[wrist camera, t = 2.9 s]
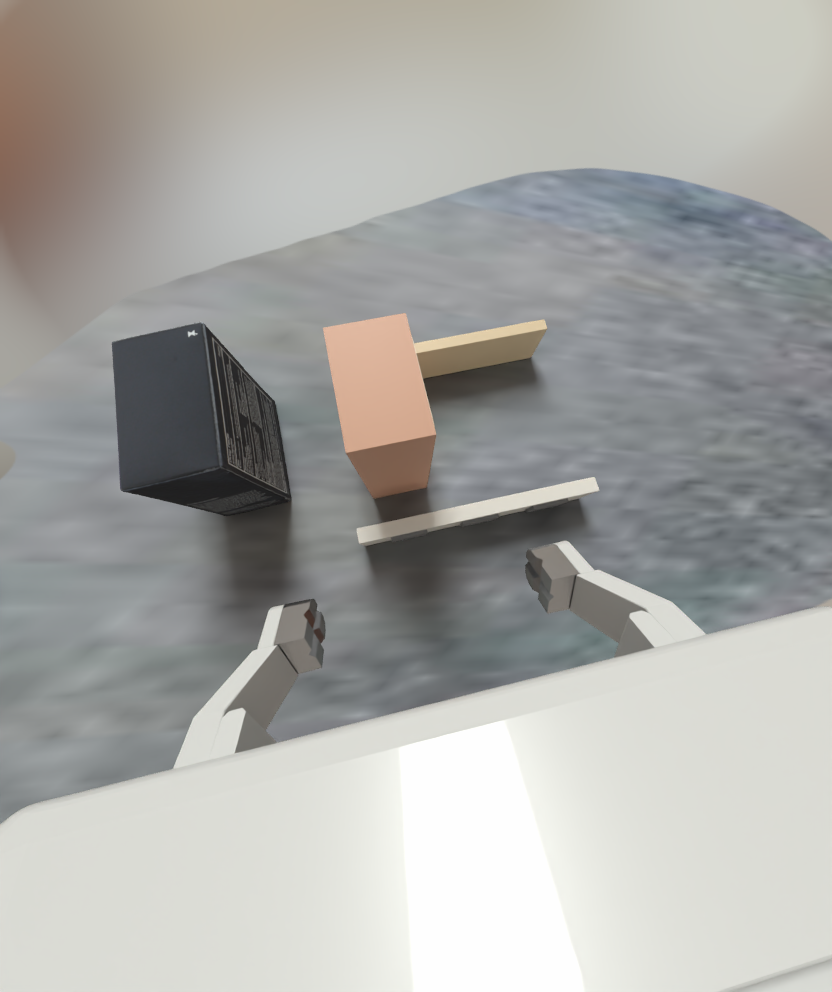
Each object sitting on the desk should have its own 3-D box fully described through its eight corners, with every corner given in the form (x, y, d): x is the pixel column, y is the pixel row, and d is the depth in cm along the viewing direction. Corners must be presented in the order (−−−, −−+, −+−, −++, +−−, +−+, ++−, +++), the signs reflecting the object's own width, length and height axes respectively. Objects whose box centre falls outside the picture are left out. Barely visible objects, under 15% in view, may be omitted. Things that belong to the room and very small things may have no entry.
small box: (209, 414, 30) (103, 336, 20) (276, 399, 30) (206, 316, 20) (221, 519, 28) (110, 492, 18) (293, 501, 28) (225, 466, 18)
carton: (373, 498, 28) (345, 452, 17) (358, 420, 30) (323, 328, 18) (428, 487, 29) (439, 433, 17) (410, 409, 30) (408, 312, 19)
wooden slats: (365, 549, 27) (358, 546, 23) (335, 386, 31) (324, 360, 27) (579, 501, 28) (606, 491, 24) (527, 349, 32) (544, 319, 28)
